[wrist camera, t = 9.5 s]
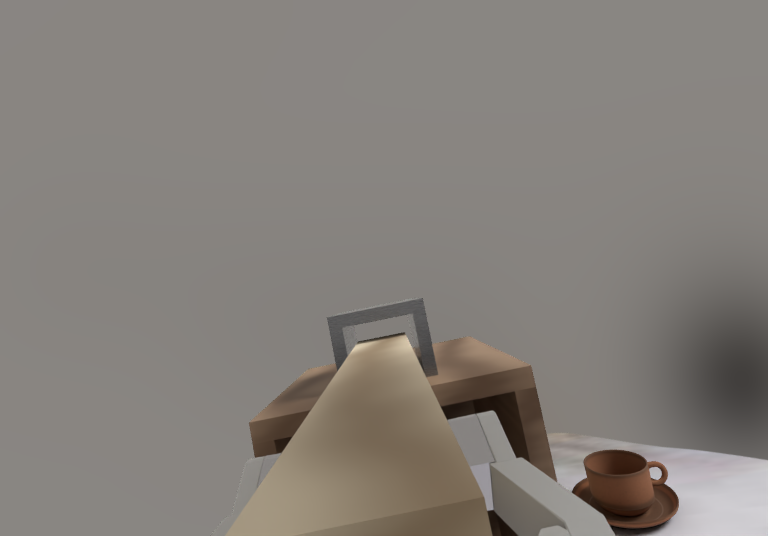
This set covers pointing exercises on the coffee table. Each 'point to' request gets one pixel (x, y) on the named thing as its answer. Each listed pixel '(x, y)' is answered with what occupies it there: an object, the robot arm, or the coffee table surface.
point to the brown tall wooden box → (455, 396)
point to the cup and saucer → (626, 489)
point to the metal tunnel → (414, 307)
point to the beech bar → (370, 459)
